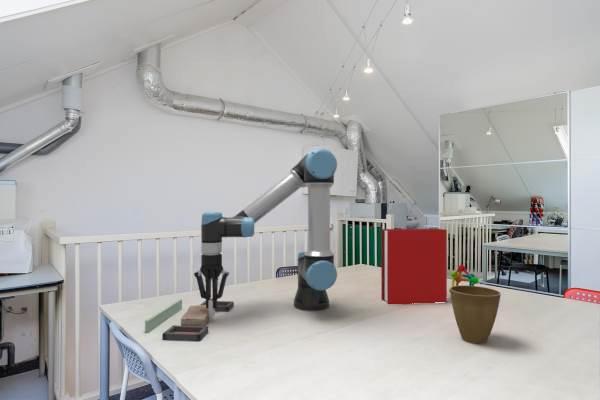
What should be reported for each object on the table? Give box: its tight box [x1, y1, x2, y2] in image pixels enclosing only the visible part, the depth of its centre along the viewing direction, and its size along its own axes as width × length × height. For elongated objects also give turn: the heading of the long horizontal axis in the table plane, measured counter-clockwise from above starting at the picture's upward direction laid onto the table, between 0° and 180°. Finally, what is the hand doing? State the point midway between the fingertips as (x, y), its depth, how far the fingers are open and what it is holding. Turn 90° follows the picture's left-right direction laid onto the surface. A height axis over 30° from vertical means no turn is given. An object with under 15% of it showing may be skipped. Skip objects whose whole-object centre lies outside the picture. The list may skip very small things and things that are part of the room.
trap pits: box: [161, 300, 235, 342], centre depth 141 cm, size 12×40×2 cm, turn 175°
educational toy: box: [448, 264, 479, 293], centre depth 178 cm, size 16×13×15 cm
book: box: [381, 228, 448, 305], centre depth 168 cm, size 27×8×32 cm, turn 96°
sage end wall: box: [144, 298, 183, 333], centre depth 142 cm, size 1×28×4 cm, turn 175°
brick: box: [180, 304, 211, 327], centre depth 139 cm, size 17×8×5 cm, turn 4°
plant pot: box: [449, 285, 502, 344], centre depth 122 cm, size 15×15×16 cm
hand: (211, 316), depth 141 cm, fingers closed
